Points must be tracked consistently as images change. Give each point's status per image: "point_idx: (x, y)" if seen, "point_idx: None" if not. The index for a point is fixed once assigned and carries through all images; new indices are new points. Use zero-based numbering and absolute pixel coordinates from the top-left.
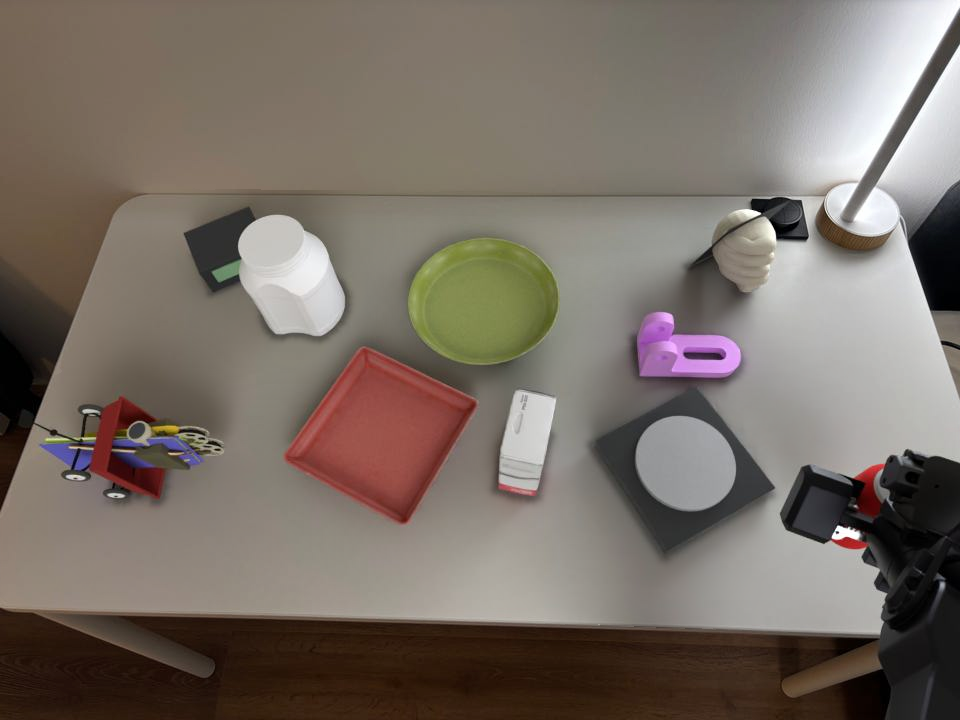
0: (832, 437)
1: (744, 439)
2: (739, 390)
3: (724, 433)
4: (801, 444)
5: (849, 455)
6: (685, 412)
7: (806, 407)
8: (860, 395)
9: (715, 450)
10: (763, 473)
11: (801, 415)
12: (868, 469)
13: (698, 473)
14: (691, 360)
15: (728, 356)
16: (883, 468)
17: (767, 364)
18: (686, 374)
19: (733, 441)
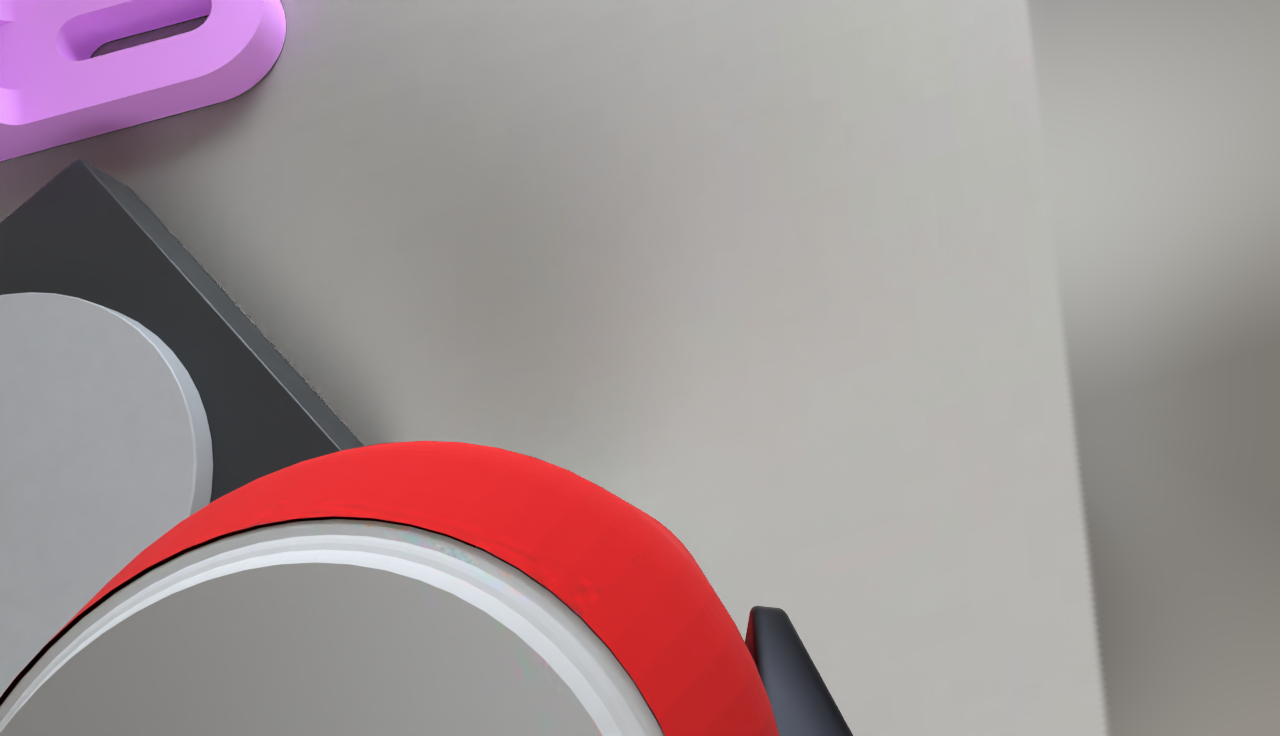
0: (625, 208)
1: (315, 308)
2: (295, 128)
3: (179, 318)
4: (518, 267)
5: (689, 259)
6: (32, 275)
7: (529, 123)
8: (712, 25)
9: (114, 408)
10: (330, 443)
11: (513, 157)
12: (99, 599)
13: (43, 532)
14: (86, 63)
15: (218, 9)
16: (69, 632)
17: (389, 5)
18: (87, 122)
19: (211, 342)
